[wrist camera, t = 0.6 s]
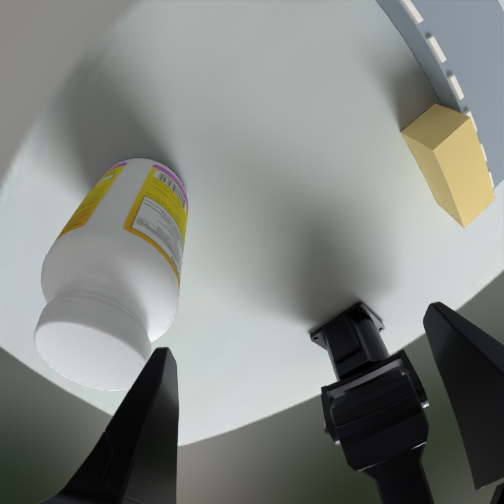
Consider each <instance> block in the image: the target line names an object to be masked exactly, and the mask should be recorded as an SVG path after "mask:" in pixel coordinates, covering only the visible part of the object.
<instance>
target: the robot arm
mask: <svg viewBox="0 0 504 504" xmlns="http://www.w3.org/2000/svg"><path fill="white" fill-rule="evenodd" d="M423 325H424V328H425V331H426V334H427V338H428V341H429V344H430V347H431V350H432V354H433V357H434V360H435V363H436V365H437V368H438V370H439V373H440V375H441V378H442V380H443V383H444V386H445V388H446V391H447V394H448V397H449V399H450V402H451V405H452V408H453V411H454V414H455V417H456V420H457V423H458V426H459V429H460V433H461V436H462V439H463V443H464V446H465V450H466V454H467V458H468V462H469V465H470V469H471V473H472V477H473V482H474V486H475V490H478V489H480V488H483V487H485V486H487V485H489V484H491V483H493V482H495V481H497V480H499V479H501V478H503V477H504V345H503V344H502V343H500V342H499V341H497V340H496V339H494V338H493V337H492V336H490V335H489V334H487V333H486V332H485V331H483V330H482V329H480V328H479V327H477V326H476V325H474V324H473V323H471V322H470V321H469V320H467V319H466V318H464V317H463V316H461V315H460V314H458V313H457V312H455V311H454V310H452V309H451V308H449V307H448V306H446V305H445V304H443V303H441V302H434V303H431V304H430V305H429V306H428V309H427V311H426V314H425V316H424V318H423ZM384 328H385V327H384V325H383V323H382V322H381V321H380V320H379V319H378V318H377V317H376V316H375V315H374V314H373V313H372V312H371V311H370V310H369V309H368V308H367V307H366V306H365V305H364V304H363V303H361V302H359V303H357V304H355V305H354V306H352V307H351V308H349V309H348V310H347V311H345V312H344V313H342V314H341V315H339V316H338V317H336V318H335V319H333V320H332V321H330V322H329V323H327V324H326V325H324V326H323V327H321V328H320V329H318V330H317V331H315V332H314V333H312V334H311V335H310V338H311V340H312V341H313V342H315V343H316V344H318V345H319V346H321V347H323V348H324V349H326V350H327V351H328V354H329V357H330V360H331V363H332V366H333V369H334V372H335V375H336V378H337V382H335V383H333V384H330V385H328V386H323V387H321V391H322V395H321V398H322V405H323V411H324V431H325V433H326V434H328V435H330V436H331V437H332V439H333V441H334V442H335V443H336V445H341V446H342V449H343V451H344V454H345V457H346V460H347V463H348V465H349V466H350V467H352V468H353V469H354V470H355V471H361V472H363V473H364V474H366V475H367V476H368V477H370V478H371V479H373V480H374V481H375V483H376V485H377V488H378V492H379V495H380V498H381V501H382V504H434V501H433V498H432V494H431V491H430V488H429V485H428V482H427V478H426V475H425V472H424V469H423V466H422V463H421V459H422V455H423V451H424V447H425V443H426V441H427V436H428V429H429V424H428V421H427V418H426V416H425V413H424V410H423V408H425V407H427V406H428V405H429V403H428V399H427V396H426V393H425V391H424V388H423V386H422V383H421V381H420V379H419V377H418V375H417V373H416V372H415V370H414V368H413V366H412V364H411V362H410V360H409V358H408V357H407V355H406V353H405V351H404V349H402V350H400V351H398V353H396V354H394V355H392V356H390V355H389V353H388V351H387V349H386V347H385V344H384V342H383V340H382V338H381V336H380V334H379V333H380V332H381V331H383V330H384ZM178 421H179V398H178V380H177V364H176V361H175V359H174V357H173V355H172V353H171V351H170V349H169V348H168V347H158V348H156V349H155V350H154V352H153V353H152V355H151V356H150V358H149V360H148V361H147V363H146V364H145V366H144V367H143V369H142V371H141V372H140V374H139V375H138V377H137V379H136V380H135V382H134V383H133V385H132V387H131V388H130V390H129V391H128V393H127V395H126V396H125V398H124V399H123V401H122V403H121V404H120V406H119V407H118V409H117V411H116V412H115V414H114V416H113V417H112V419H111V421H110V422H109V424H108V425H107V427H106V429H105V431H104V432H103V434H102V435H101V437H100V439H99V440H98V442H97V443H96V445H95V446H94V448H93V450H92V451H91V452H90V454H89V455H88V457H87V458H86V459H85V461H84V462H83V463H82V465H81V466H80V468H79V469H78V470H77V471H76V473H75V474H74V475H73V476H72V478H71V479H70V480H69V482H68V483H67V484H66V485H65V487H64V488H63V489H62V490H61V491H60V492H58V493H57V494H56V495H54V496H52V497H50V498H48V499H46V500H44V501H41V502H39V503H37V504H176V477H177V443H178ZM490 504H504V481H503V482H501V483H500V484H499V485H497V487H496V489H495V492H494V495H493V497H492V500H491V502H490Z"/></svg>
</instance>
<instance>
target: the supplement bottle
mask: <svg viewBox="0 0 504 504" xmlns="http://www.w3.org/2000/svg"><path fill="white" fill-rule="evenodd" d="M187 215H188V199H187V194H186V191H185V188H184V186H183V184H182V183H181V181H180V179H179V178H178V177H177V176H176V174H175V173H174V172H173V171H171V170H170V169H169V168H168V167H166V166H165V165H163V164H161V163H159V162H156V161H153V160H150V159H143V158H133V159H128V160H124V161H122V162H119V163H117V164H115V165H114V166H112V167H111V168H110V169H108V170H107V171H106V172H105V173H104V175H103V176H102V177H101V178H100V179H99V181H98V182H97V183H96V184H95V186H94V187H93V188H92V190H91V191H90V192H89V193H88V195H87V196H86V198H85V199H84V200H83V202H82V203H81V204H80V206H79V207H78V209H77V210H76V211H75V213H74V214H73V216H72V217H71V219H70V220H69V221H68V223H67V224H66V226H65V227H64V229H63V230H62V232H61V233H60V235H59V236H58V238H57V239H56V241H55V242H54V244H53V245H52V247H51V248H50V250H49V252H48V254H47V255H46V257H45V260H44V263H43V266H42V272H41V286H42V291H43V294H44V297H45V300H46V302H47V305H46V306H45V308H44V309H43V311H42V313H41V316H40V318H39V321H38V324H37V326H36V329H35V332H34V343H35V347H36V349H37V351H38V353H39V354H40V356H41V357H42V358H43V359H44V361H45V362H46V363H47V364H48V365H49V366H50V367H52V368H53V369H54V370H55V371H57V372H58V373H59V374H61V375H62V376H64V377H66V378H68V379H70V380H72V381H74V382H76V383H79V384H81V385H84V386H87V387H90V388H94V389H100V390H107V391H121V390H128V389H130V388H131V387H132V385H133V383H134V382H135V380H136V379H137V377H138V375H139V374H140V372H141V371H142V369H143V367H144V366H145V364H146V363H147V361H148V360H149V358H150V355H151V342H152V341H154V340H156V339H157V338H159V337H160V336H161V335H162V334H163V333H164V332H165V331H166V330H167V329H168V328H169V327H170V325H171V324H172V322H173V320H174V318H175V315H176V312H177V307H178V299H179V290H180V278H181V267H182V258H183V250H184V241H185V232H186V223H187Z"/></svg>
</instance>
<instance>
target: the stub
mask: <svg viewBox="0 0 504 504" xmlns="http://www.w3.org/2000/svg"><path fill="white" fill-rule="evenodd" d="M401 134H402V136H403V137H404V139H405V141H406V143H407V144H408V146H409V148H410V150H411V152H412V153H413V155H414V157H415V159H416V161H417V163H418V165H419V167H420V169H421V171H422V173H423V174H424V176H425V178H426V181H427V183H428V185H429V187H430V189H431V191H432V193H433V195H434V197H435V200H436V202H437V204H438V205H439V206H441V207H442V208H443V209H444V210H445V211H446V212H447V213H448V214H449V215H450V216H452V217H453V218H454V219H455V220H456V221H457V222H458V223H459V224H460V225H461V226H462V227H463V228H465V227H466V226H467V225H468V224H469V223H470V222H471V221H473V220H474V219H475V218H476V217H477V216H478V215H479V214H480V213H481V212H482V211H483V210H484V209H485V208H486V207H487V206H488V205H489V204H490V203H491V202H492V201H493V200H494V199H495V196H494V191H493V187H492V183H491V179H490V175H489V172H488V168H487V165H486V161H485V158H484V155H483V151H482V148H481V145H480V142H479V139H478V136H477V133H476V131H475V128H474V125H473V123H472V120H471V117H469V116H467V115H464V114H462V113H459V112H457V111H454V110H452V109H449V108H447V107H444V106H441V105H439V104H436V103H435V104H434V105H432V106H431V107H430V108H429V109H428V110H426V111H425V112H424V113H423V114H422V115H420V116H419V117H418V118H417V119H416V120H414V121H413V122H412V123H411V124H410V125H409V126H407V127H406V128H405V129H404V130H403V131H401Z"/></svg>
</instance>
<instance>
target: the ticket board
mask: <svg viewBox="0 0 504 504" xmlns="http://www.w3.org/2000/svg"><path fill="white" fill-rule="evenodd" d="M376 1H377V2H378V4H379V5H380V6H381V7H382V9H383V10H384V11H385V13H386V14H387V15H388V17H389V18H390V19H391V21H392V22H393V24H394V25H395V26H396V28H397V29H398V31H399V32H400V34H401V35H402V37H403V38H404V40H405V41H406V43H407V44H408V46H409V47H410V49H411V51H412V52H413V54H414V55H415V57H416V59H417V60H418V62H419V64H420V65H421V67H422V69H423V71H424V72H425V74H426V76H427V78H428V79H429V81H430V83H431V85H432V87H433V89H434V91H435V93H436V95H437V97H438V99H439V101H440V103H441V105H442V106H444V107H447V108H449V109H452V110H454V111H457V112H459V113H462V114H464V115H467V116H469V117H471V120H472V123H473V125H474V128H475V131H476V133H477V136H478V139H479V142H480V145H481V148H482V151H483V155H484V158H485V161H486V165H487V168H488V172H489V175H490V179H491V183H492V187H493V189H494V188H495V187H496V186H497V185H498V184H499V183H500V182H501V181H502V180H503V179H504V11H503V9H502V7H501V5H500V3H499V1H498V0H376Z"/></svg>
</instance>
